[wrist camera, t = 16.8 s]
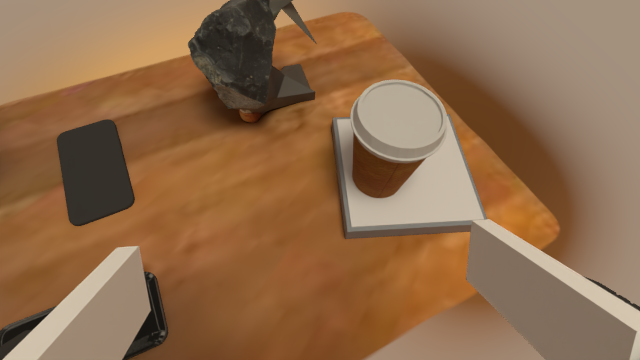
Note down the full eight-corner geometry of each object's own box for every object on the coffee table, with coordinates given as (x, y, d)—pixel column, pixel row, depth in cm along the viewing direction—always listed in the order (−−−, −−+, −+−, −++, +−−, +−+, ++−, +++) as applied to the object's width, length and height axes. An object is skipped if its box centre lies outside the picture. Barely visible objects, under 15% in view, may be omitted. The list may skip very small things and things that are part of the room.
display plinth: (345, 238, 40) (347, 231, 38) (331, 128, 49) (332, 116, 47) (479, 230, 42) (489, 222, 40) (443, 124, 50) (450, 113, 48)
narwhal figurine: (205, 80, 52) (165, -44, 37) (300, 63, 55) (299, -58, 40) (220, 152, 46) (179, 37, 30) (326, 129, 49) (339, 14, 33)
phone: (69, 228, 39) (55, 134, 45) (73, 230, 40) (58, 138, 46) (135, 203, 41) (112, 117, 47) (138, 206, 42) (115, 120, 48)
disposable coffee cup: (359, 135, 45) (376, 63, 35) (425, 165, 43) (464, 99, 33) (325, 188, 41) (334, 124, 30) (397, 224, 39) (433, 170, 28)
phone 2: (167, 339, 33) (-6, 417, 29) (171, 340, 34) (3, 415, 30) (152, 267, 37) (-5, 328, 33) (156, 270, 38) (4, 330, 34)
